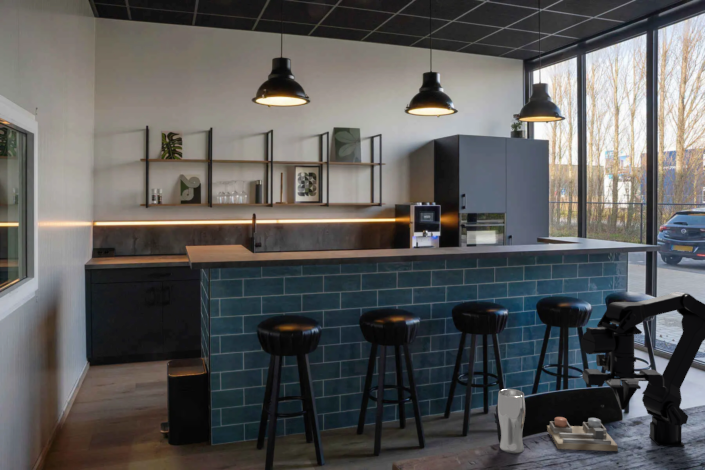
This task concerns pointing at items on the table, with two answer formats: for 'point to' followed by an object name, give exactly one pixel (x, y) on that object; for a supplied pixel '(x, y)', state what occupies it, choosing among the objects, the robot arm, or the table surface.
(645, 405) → the robot arm
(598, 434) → the block
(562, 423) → the terracotta button
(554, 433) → the control panel
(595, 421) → the grey button
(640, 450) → the table surface
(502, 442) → the beer glass
